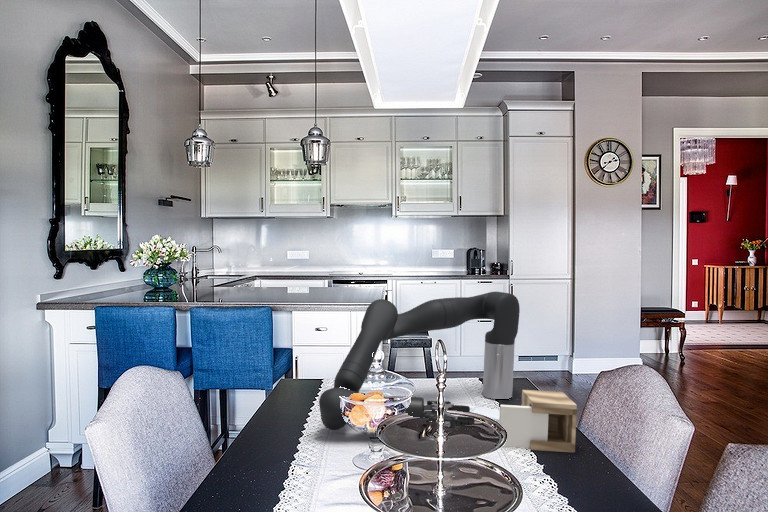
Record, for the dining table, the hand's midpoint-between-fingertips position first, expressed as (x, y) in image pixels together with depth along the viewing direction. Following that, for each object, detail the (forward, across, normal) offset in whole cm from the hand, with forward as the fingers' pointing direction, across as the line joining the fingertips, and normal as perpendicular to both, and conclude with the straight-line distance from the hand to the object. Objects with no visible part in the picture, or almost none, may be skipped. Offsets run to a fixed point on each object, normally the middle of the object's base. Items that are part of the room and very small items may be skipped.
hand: (471, 416), depth 120 cm
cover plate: (+12, 0, -6) cm, 14 cm away
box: (+19, -4, -6) cm, 20 cm away
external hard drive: (+6, -22, -7) cm, 24 cm away
